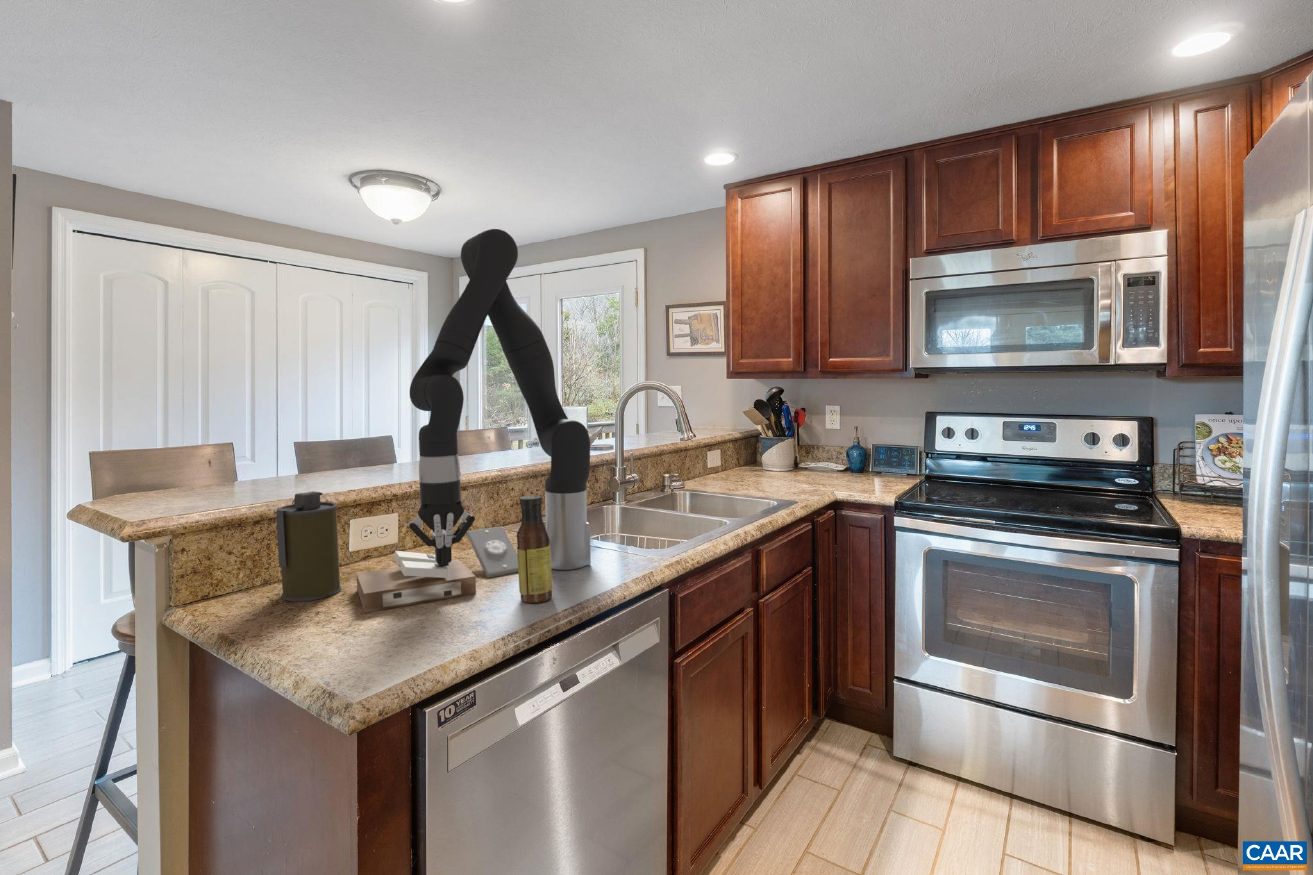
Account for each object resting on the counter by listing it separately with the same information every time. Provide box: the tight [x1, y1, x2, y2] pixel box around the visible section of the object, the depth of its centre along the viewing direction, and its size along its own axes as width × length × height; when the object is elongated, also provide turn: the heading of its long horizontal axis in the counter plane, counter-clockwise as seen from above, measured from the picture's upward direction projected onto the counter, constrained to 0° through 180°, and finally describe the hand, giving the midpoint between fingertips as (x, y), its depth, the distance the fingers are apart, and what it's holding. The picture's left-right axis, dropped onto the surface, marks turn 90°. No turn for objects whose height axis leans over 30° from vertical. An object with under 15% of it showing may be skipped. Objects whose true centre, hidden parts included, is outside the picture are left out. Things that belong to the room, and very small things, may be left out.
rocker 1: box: [393, 550, 437, 565], centre depth 128 cm, size 8×5×2 cm, turn 122°
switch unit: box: [355, 558, 477, 613], centre depth 124 cm, size 20×15×4 cm
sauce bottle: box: [516, 494, 553, 604], centre depth 120 cm, size 6×6×20 cm
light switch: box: [466, 526, 518, 579], centre depth 142 cm, size 8×6×14 cm
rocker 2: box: [399, 561, 449, 578], centre depth 121 cm, size 8×5×2 cm, turn 121°
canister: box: [275, 491, 342, 603], centre depth 123 cm, size 11×10×20 cm
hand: (443, 565), depth 123 cm, fingers closed
